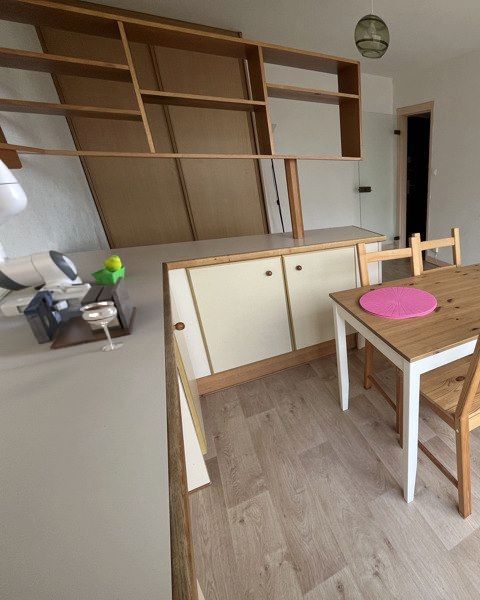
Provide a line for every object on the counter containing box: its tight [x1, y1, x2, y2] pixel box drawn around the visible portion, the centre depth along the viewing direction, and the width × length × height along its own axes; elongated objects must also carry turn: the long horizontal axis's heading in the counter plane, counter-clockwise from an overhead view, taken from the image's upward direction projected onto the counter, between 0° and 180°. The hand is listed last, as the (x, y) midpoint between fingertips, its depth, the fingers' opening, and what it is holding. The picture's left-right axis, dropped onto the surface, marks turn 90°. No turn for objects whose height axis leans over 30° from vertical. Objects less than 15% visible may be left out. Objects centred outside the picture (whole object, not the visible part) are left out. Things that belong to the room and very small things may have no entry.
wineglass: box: [79, 301, 125, 352], centre depth 83 cm, size 7×7×12 cm
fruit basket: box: [91, 254, 126, 286], centre depth 134 cm, size 11×9×11 cm
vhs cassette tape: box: [23, 290, 62, 344], centre depth 91 cm, size 18×3×10 cm, turn 37°
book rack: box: [50, 276, 138, 351], centre depth 94 cm, size 16×22×13 cm
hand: (45, 310), depth 93 cm, fingers closed on vhs cassette tape, 2 cm apart
